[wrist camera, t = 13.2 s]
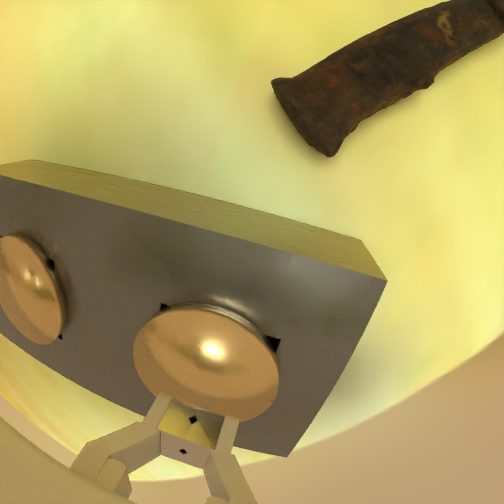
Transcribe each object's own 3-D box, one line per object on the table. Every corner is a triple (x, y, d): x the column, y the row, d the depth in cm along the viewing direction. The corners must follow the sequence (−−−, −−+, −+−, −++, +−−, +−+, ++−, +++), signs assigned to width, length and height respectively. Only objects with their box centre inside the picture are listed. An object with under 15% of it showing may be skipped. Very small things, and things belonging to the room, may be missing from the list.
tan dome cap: (165, 345, 17) (133, 395, 13) (178, 251, 15) (135, 290, 10) (265, 377, 17) (255, 436, 12) (300, 287, 14) (301, 342, 10)
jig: (35, 303, 20) (-9, 336, 14) (31, 159, 16) (-32, 171, 10) (291, 400, 19) (285, 467, 13) (361, 240, 14) (393, 290, 9)
